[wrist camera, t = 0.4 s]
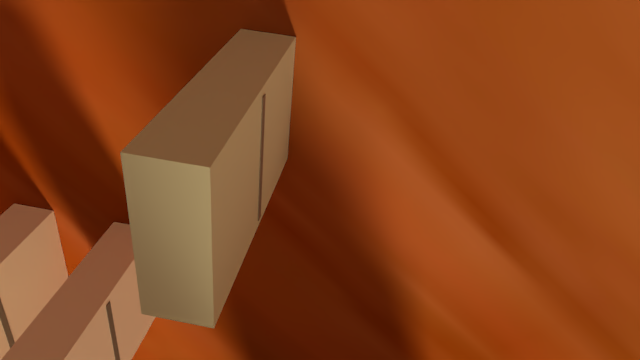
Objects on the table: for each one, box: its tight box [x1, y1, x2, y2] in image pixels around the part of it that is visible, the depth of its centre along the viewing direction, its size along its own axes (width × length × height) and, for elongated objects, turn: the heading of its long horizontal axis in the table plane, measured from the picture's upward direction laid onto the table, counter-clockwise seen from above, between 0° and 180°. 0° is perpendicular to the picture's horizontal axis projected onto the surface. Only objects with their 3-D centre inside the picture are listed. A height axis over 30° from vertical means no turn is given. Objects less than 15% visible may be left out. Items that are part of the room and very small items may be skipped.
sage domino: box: [120, 29, 296, 328], centre depth 17 cm, size 2×5×9 cm, turn 175°
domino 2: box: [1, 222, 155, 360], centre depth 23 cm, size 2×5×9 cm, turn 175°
